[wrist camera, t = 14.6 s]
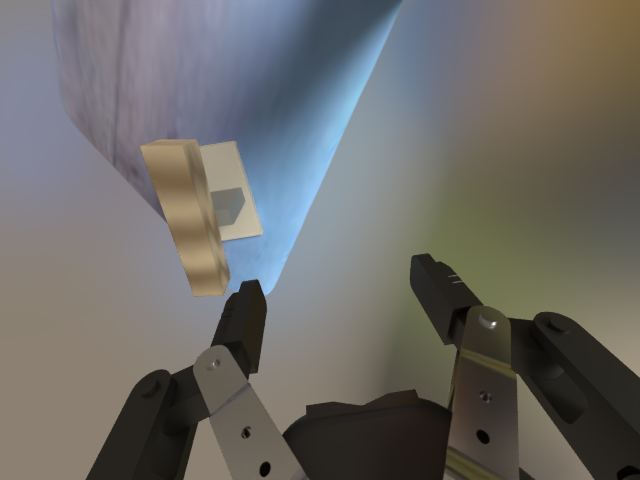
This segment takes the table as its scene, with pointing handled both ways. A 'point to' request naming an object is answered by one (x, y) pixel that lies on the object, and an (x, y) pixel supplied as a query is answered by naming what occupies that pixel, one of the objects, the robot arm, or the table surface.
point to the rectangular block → (189, 212)
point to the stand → (230, 191)
